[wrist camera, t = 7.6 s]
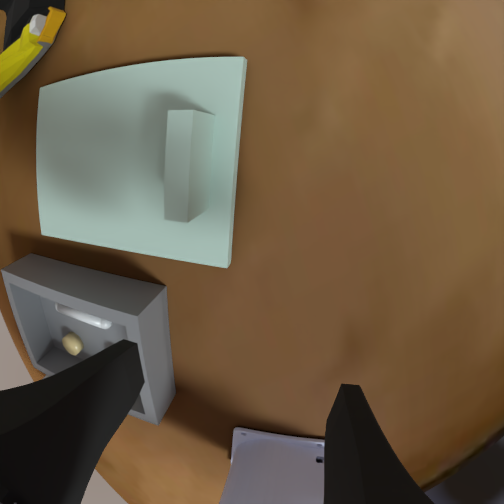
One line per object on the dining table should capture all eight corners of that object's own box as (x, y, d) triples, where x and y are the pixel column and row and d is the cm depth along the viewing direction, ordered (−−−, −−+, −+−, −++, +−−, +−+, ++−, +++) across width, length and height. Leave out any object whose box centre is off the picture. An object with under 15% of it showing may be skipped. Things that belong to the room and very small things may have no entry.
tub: (166, 286, 20) (137, 316, 16) (176, 393, 24) (158, 425, 20) (31, 253, 22) (0, 269, 18) (55, 346, 26) (33, 366, 22)
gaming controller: (5, 111, 18) (71, 59, 15) (-40, 115, 13) (17, 51, 10) (12, -2, 13) (77, -56, 11) (-23, -8, 8) (41, -73, 5)
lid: (250, 64, 14) (228, 38, 10) (234, 258, 18) (210, 292, 14) (54, 88, 16) (10, 86, 12) (54, 228, 21) (15, 247, 16)
